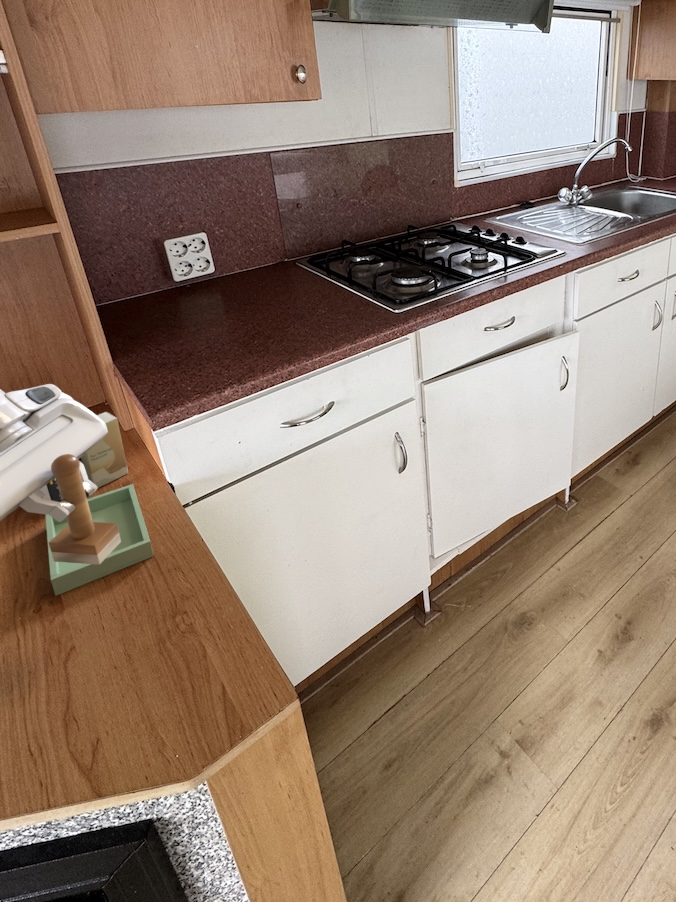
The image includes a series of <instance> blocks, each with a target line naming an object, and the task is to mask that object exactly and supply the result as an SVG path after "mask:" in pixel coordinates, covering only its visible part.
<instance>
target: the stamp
mask: <svg viewBox="0 0 676 902" xmlns="http://www.w3.org/2000/svg"><path fill="white" fill-rule="evenodd" d="M79 467H80V461H79V459H78V458H77V457H76V456H74V455H72V454H64V455H61V456H59V457H57V458H56V459H55V460H54V461H53V463H52V465H51V471H52V473H53V474H54V475H55V478H56V481H57V485H58V489H59V492H60V496H61V499H62V500H63V499H66V500H68V501H69V502H70V504H73V505H74V506H75V510H74V511H73V512H72V513H71V514H69V515H68V516H67V521H68V525H67V526H66V527H65V528H64V529H63V530H62V531H61V532H60V533H59V534H58V535H56V536H55V537H54V538H53V539H52V540H51V541H50V542H49V546H50V549H51V553H52V556H53V559H54V562H68V563H83V564H97V565H100V564H101V563H102V562H103V561H104V560H105V558H106V557H107V556H108V555H109V554H110V553H111V552H112V551H113V550H114V549H115V548H116V547H117V546H118V545H119V544H120V542H121V539H120V535H119V531H118V526H117V523H102V522H93V520H92V516H91V512H90V508H89V504H88V501H87V497H86V493H85V489H84V485H83V481H82V477H81V474H80V470H79Z"/></svg>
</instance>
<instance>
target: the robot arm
mask: <svg viewBox="0 0 676 902" xmlns="http://www.w3.org/2000/svg"><path fill="white" fill-rule="evenodd" d="M61 394H62V389H60V388H59V387H58V386H57V385H55V384H53V383H47V384H46V383H45V384H41V385H38V386H33V387H30V388H24V389H19V390H12V391H8V392H5V391H3V390H2V389H1V388H0V522H1V521H2V520H3V519H5V518H6V517H7V516H9V515H10V514H11V513H13V512H14V511H15V510H16V509H17V508H19V507H20V508H21V509H23V510H24V511H25V512H27V513H32V514H39V515H45V514H46V515H47V514H49V515H50V516H51V517H53V518H54V519H55V520H57V521H59V522H62V521H63V520H64V519H65V518H66V517H67V516H68V515H69V514H71V513H72V512H73V511H74V510H75V506H74V505H73V504H70V502H69V501H68V500H66V499H63V500H62V501H61V502H60V503H59V502H56V501H52V500H48V499H43V497H44V496H45V494H44V493H43V492H42V491H40V489H41V488H43V487H44V486H45V485H46V484H48V483H49V482H50V481H52V480H53V479H54V478H55V475H54V474H53V473H52V471H51V465H52V463H53V461H54V460H55V459H56V458H57V457H59V456H61V455H64V454H72V455H74V456H76V457H77V458H78V459H79V458H81V457H82V456H83V455H84V454H86V453H87V452H88V451H89V450H91V449H92V448H93V447H95V446H96V445H97V444H98V443H99V442H100V441H101V440H102V439H103V438H104V437H105V436H106V434H107V433H108V430H107V426H106V423H105V422H104V421H103V420H102V419H100V418H99V417H98V416H97V415H98V414H96V413H94V412H93V411H92V410H90V409H89V408H88V407H86V406H85V405H84V404H82V403H81V402H78V401H77V400H75V399H73V398H72V399H73V400H72V399H69V398H60V399H58V398H59V397H60V396H61ZM79 470H80V474H81V477H82V481H83V485H84V489H85V493H86V497H87V499H89V498H91V496H92V495H93V494H94V493H96V491H97V490H98V489H99V488H98V487H97V486H96V485H95V484H94V483H93V482H91V481H90V480H89V479H88V476H87V473H86V470H85V467H84V464H82V463H81V462H80V467H79Z"/></svg>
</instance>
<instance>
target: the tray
mask: <svg viewBox="0 0 676 902" xmlns="http://www.w3.org/2000/svg"><path fill="white" fill-rule="evenodd" d="M87 501H88V504H89V508H90V512H91V516H92V520H93V522H102V523H117V526H118V531H119V535H120V539H121V542H120V544H119V545H118V546H117V547H116V548H115V549H114V550H113V551H112V552H111V553H110V554H109V555H108V556H107V557H106V558H105V560H104V561H103V562H102V563H101V564H100V565H97V564H83V563H68V562H54V559H53V556H52V553H51V549H50V546H49V542H50V541H51V540H52V539H53V538H54V537H55V536H56V535H58V534H59V533H60V532H61V531H62V530H63V529H64V528H65V527H66V526H67V525H68V521H67V517H66V518H65V519H64V520H63V521H62V522H59V521H57V520H55V519H54V518H53V517H51V516H50V515H49V514H47V515H46V514H44V515H45V516H44V517H45V531H46V541H47V554H48V566H49V578H50V583H51V586H52V589H53V592H54V595H55V596H56V597H57V596H59V595H62V594H64V593H66V592H69V591H71V590H74V589H76V588H79V587H81V586H83V585H87V584H89V583H92V582H95V581H96V580H99V579H101V578H104V577H106V576H108V575H110V574H113V573H115V572H116V573H117V572H119V571H121V570H123V569H126V568H128V567H131V566H133V565H136V564H138V563H140V562H143V561H145V560H148V559H150V558H153V557H154V556H155V555H154V551H153V545H152V542H151V539H150V536H149V532H148V529H147V526H146V522H145V519H144V516H143V512H142V509H141V506H140V501H139V500H138V496H137V493H136V489H135V486H134V484H133V483H131V484H128V485H125V486H123V487H119V488H116V489H113V490H110V491H107V492H104V493H102V494H98V495H95V496H92V497H89V498H88V499H87Z"/></svg>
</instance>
